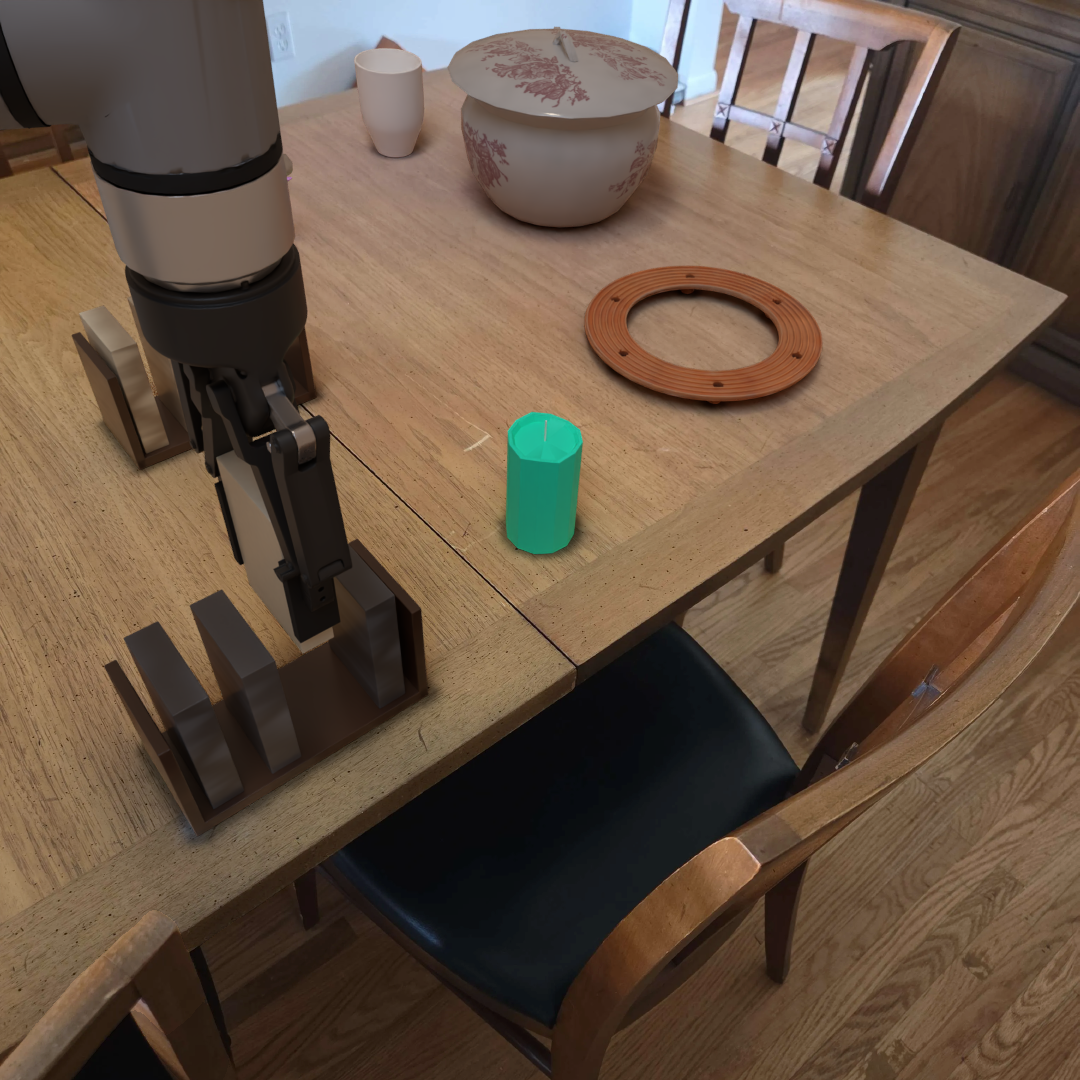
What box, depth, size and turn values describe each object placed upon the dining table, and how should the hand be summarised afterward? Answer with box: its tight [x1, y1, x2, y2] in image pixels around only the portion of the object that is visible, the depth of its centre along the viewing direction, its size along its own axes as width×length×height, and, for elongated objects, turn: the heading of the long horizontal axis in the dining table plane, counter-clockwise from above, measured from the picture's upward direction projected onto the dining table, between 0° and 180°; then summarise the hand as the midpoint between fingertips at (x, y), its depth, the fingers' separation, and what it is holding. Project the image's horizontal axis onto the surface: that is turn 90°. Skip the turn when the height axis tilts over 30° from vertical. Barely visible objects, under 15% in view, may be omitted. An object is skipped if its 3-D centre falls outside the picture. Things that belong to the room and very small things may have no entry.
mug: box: [353, 47, 425, 158], centre depth 128 cm, size 12×9×12 cm
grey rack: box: [103, 538, 429, 837], centre depth 62 cm, size 18×8×12 cm, turn 129°
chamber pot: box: [447, 26, 679, 228], centre depth 115 cm, size 28×28×21 cm
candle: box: [505, 411, 584, 555], centre depth 76 cm, size 6×6×12 cm
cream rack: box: [71, 296, 317, 471], centre depth 85 cm, size 18×8×12 cm, turn 129°
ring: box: [583, 265, 824, 405], centre depth 100 cm, size 25×25×2 cm
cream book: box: [216, 450, 334, 654], centre depth 55 cm, size 2×7×11 cm, turn 39°
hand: (286, 589), depth 58 cm, fingers closed on cream book, 7 cm apart
